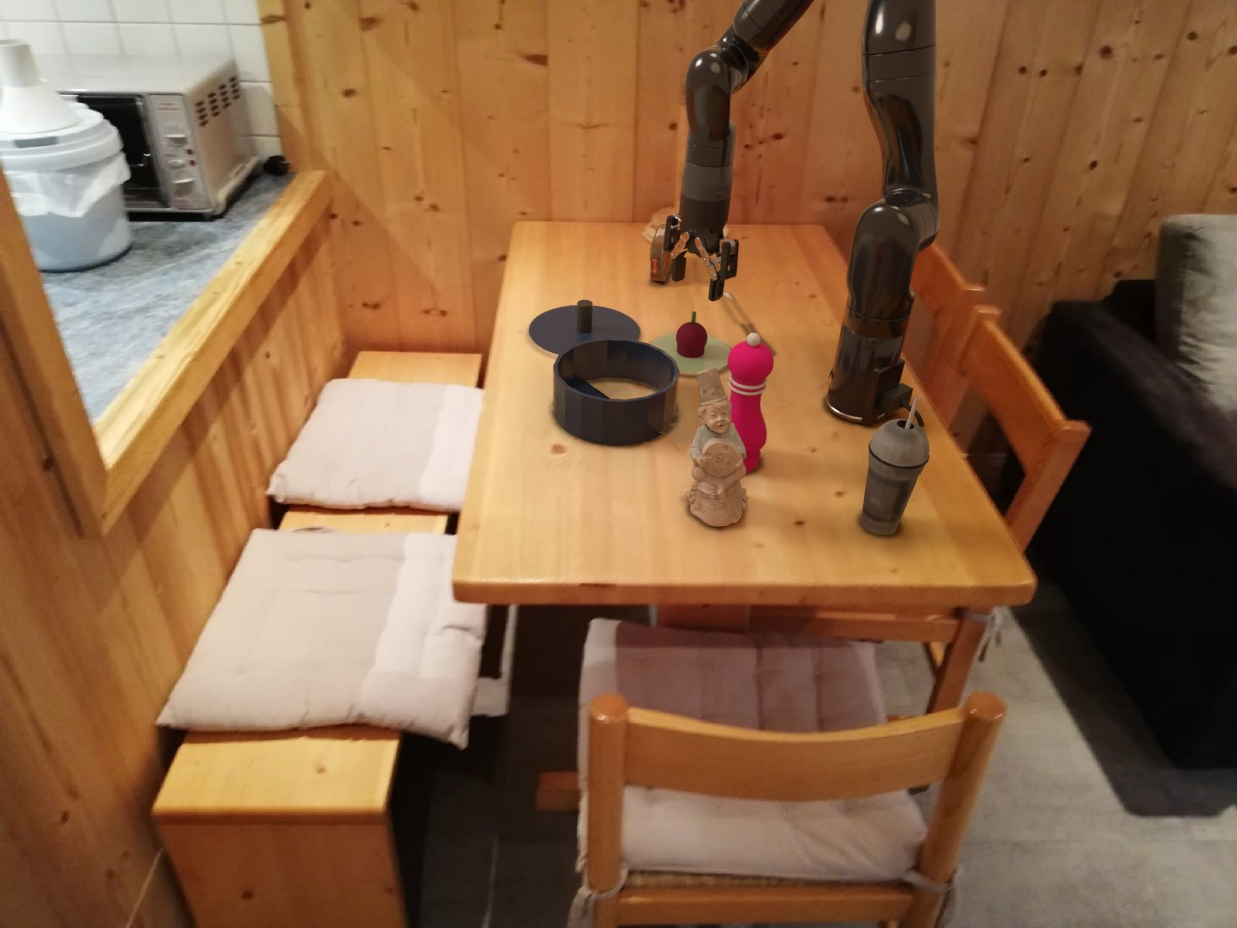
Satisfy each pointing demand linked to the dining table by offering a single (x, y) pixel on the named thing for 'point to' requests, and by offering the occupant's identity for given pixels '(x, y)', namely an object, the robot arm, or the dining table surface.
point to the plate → (711, 358)
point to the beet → (691, 339)
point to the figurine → (716, 457)
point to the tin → (659, 256)
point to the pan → (614, 418)
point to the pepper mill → (749, 394)
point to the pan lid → (580, 326)
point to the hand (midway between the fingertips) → (695, 289)
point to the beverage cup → (893, 472)
